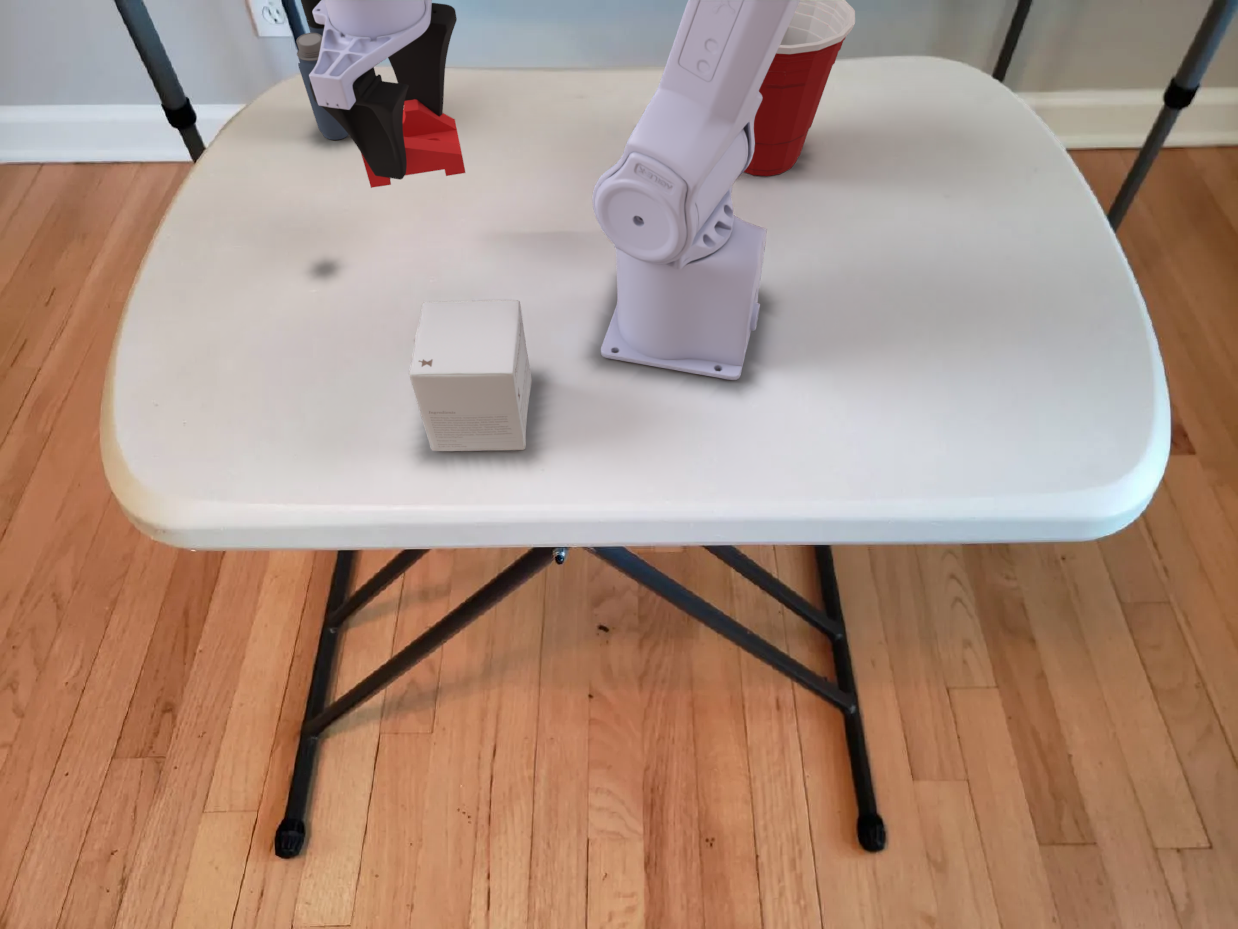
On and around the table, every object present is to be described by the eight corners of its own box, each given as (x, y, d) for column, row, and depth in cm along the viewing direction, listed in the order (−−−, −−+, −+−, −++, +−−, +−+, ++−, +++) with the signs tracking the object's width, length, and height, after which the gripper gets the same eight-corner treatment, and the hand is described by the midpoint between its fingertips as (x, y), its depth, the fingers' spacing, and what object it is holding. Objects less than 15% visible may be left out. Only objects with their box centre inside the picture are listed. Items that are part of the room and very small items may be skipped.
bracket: (371, 187, 62) (359, 148, 59) (367, 146, 65) (356, 107, 62) (465, 172, 62) (458, 134, 60) (457, 132, 65) (450, 94, 63)
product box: (526, 453, 57) (513, 374, 51) (429, 454, 57) (405, 375, 51) (533, 379, 60) (521, 298, 55) (441, 380, 61) (420, 298, 55)
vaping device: (368, 108, 79) (331, -35, 70) (344, 143, 76) (301, 0, 67) (341, 104, 80) (300, -38, 70) (316, 139, 77) (269, -4, 67)
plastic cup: (817, 112, 78) (842, -33, 68) (840, 192, 71) (871, 44, 62) (690, 117, 78) (696, -28, 68) (701, 197, 71) (710, 51, 62)
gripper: (348, -127, 56) (397, 79, 67) (230, -11, 48) (307, 202, 59) (456, -117, 55) (487, 91, 66) (354, 3, 47) (409, 218, 57)
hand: (409, 145), depth 62 cm, fingers closed on bracket, 6 cm apart
